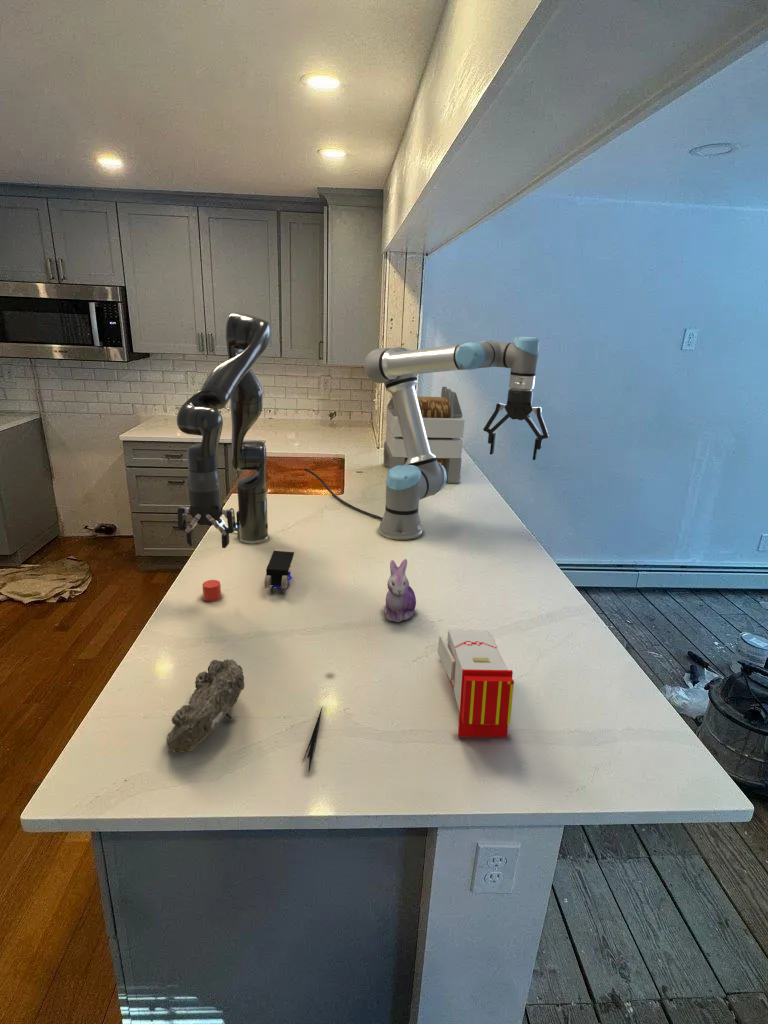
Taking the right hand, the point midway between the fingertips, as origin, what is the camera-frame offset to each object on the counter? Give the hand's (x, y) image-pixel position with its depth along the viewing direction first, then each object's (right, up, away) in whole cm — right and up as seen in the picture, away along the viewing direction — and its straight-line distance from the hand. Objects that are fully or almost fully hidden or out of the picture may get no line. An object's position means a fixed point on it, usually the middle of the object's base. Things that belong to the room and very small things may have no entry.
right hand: (512, 456), depth 182 cm
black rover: (-71, -38, -22) cm, 83 cm away
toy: (-23, -55, -63) cm, 87 cm away
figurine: (-37, -44, -34) cm, 67 cm away
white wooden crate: (-24, +1, +93) cm, 96 cm away
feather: (-54, -58, -73) cm, 108 cm away
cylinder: (-87, -41, -30) cm, 101 cm away
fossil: (-74, -57, -74) cm, 119 cm away
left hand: (-87, -27, -35) cm, 97 cm away
